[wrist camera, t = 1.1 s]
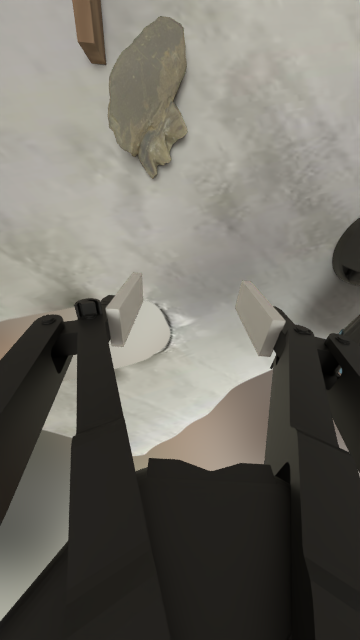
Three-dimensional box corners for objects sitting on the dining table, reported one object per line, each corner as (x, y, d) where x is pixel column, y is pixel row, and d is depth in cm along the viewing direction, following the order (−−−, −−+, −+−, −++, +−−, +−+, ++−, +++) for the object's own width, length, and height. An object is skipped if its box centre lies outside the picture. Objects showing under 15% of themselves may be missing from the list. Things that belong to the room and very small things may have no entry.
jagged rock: (127, 143, 33) (161, 187, 33) (75, 104, 24) (122, 165, 24) (181, 37, 25) (225, 95, 26) (133, -75, 17) (201, 14, 17)
